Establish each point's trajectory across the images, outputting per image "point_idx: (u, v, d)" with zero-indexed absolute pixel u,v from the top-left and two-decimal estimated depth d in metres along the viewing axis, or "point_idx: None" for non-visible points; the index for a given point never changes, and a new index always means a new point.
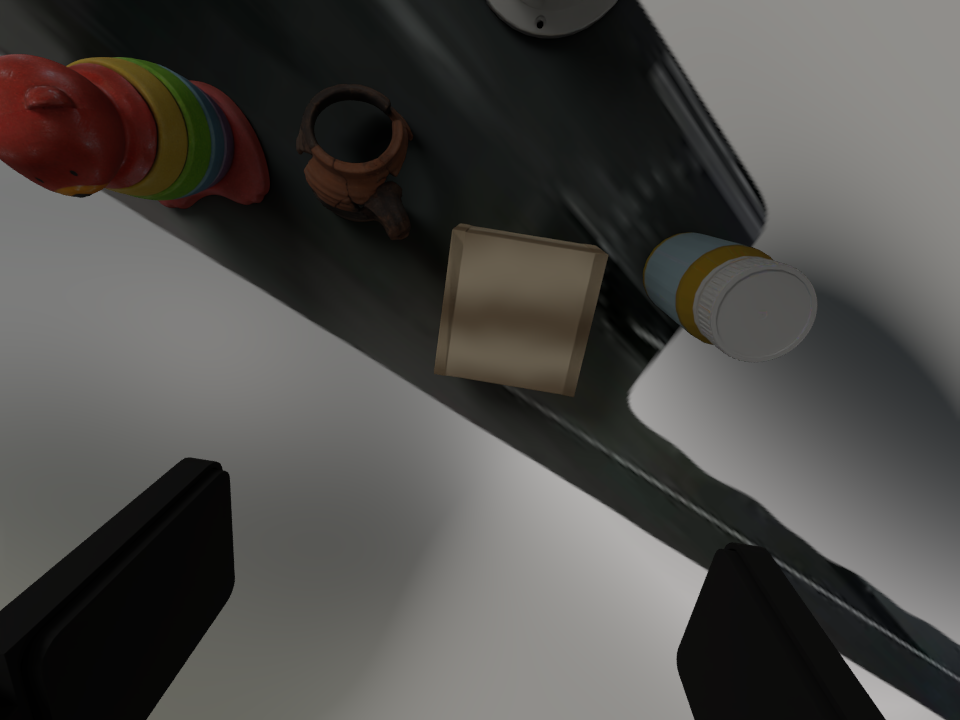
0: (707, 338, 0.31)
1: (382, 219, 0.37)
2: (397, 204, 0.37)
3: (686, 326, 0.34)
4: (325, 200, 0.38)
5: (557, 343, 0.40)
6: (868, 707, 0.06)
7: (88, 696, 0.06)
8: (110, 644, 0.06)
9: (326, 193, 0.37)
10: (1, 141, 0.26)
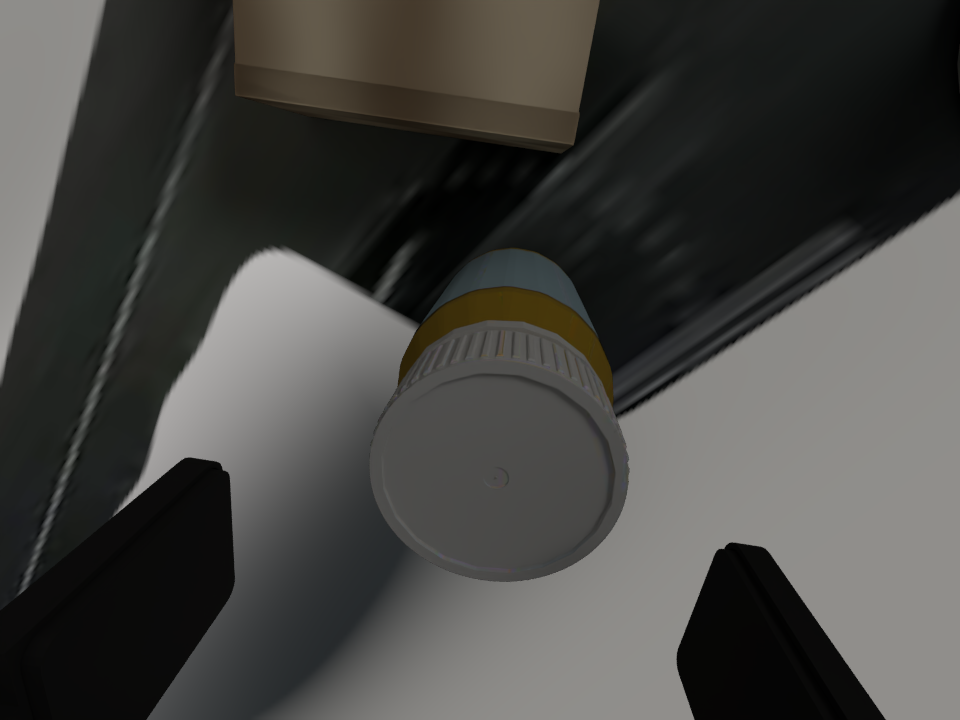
0: (418, 361, 0.12)
1: None
2: None
3: (436, 316, 0.15)
4: None
5: (361, 37, 0.16)
6: (868, 707, 0.06)
7: (88, 696, 0.06)
8: (110, 644, 0.06)
9: None
10: None
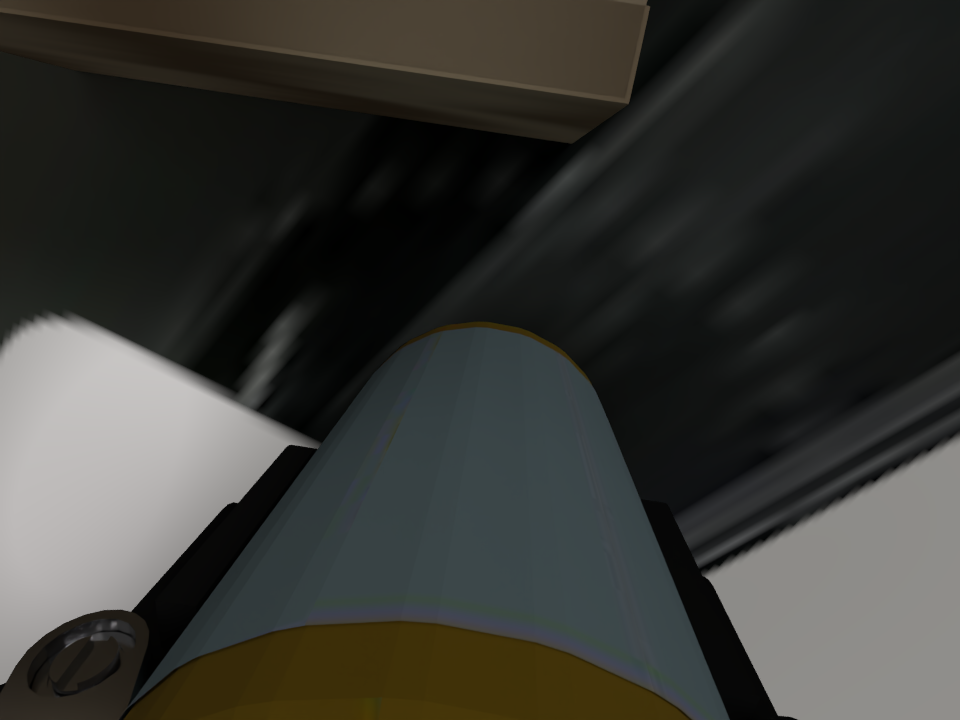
0: None
1: None
2: None
3: None
4: None
5: None
6: (718, 625, 0.07)
7: None
8: None
9: None
10: None
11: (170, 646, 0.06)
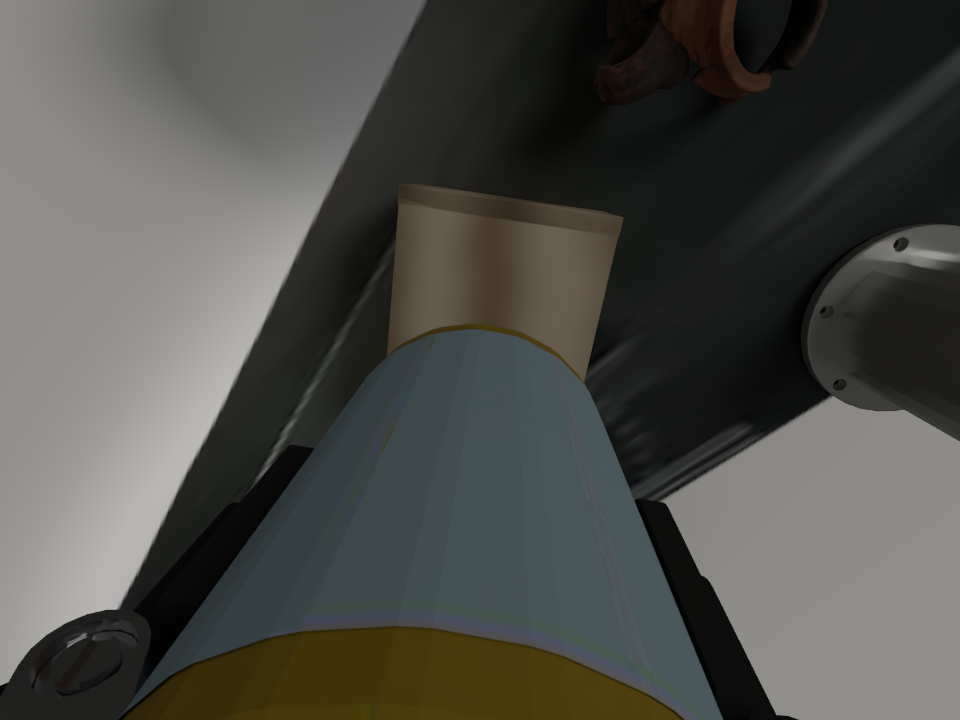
0: None
1: (637, 56, 0.23)
2: (655, 83, 0.24)
3: None
4: None
5: None
6: (716, 624, 0.07)
7: None
8: None
9: None
10: None
11: None
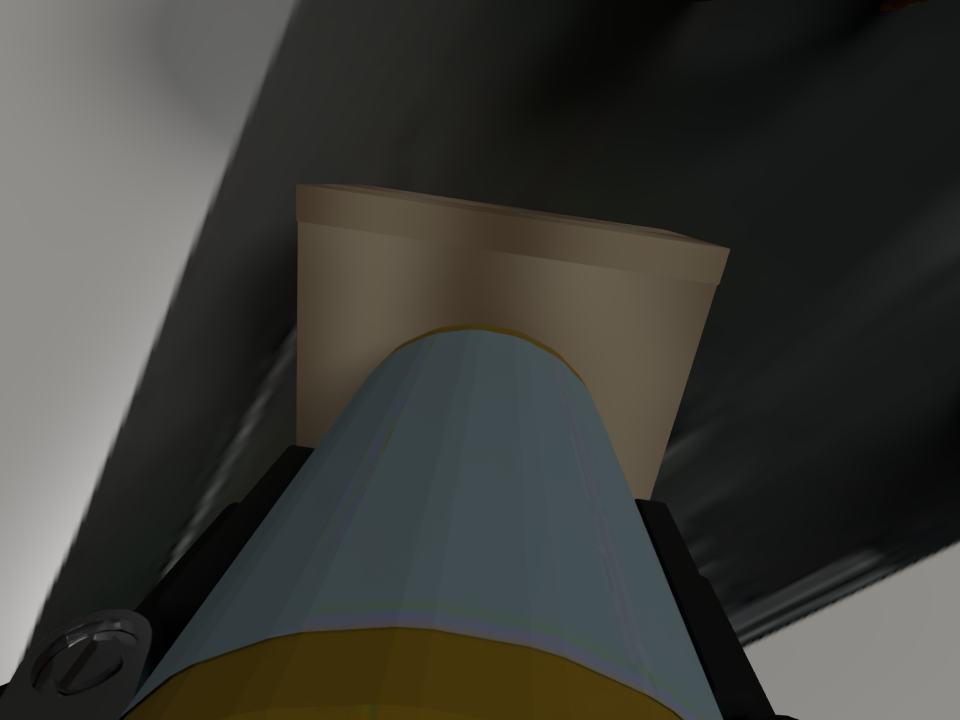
0: None
1: None
2: None
3: None
4: None
5: None
6: (716, 623, 0.07)
7: None
8: None
9: None
10: None
11: None
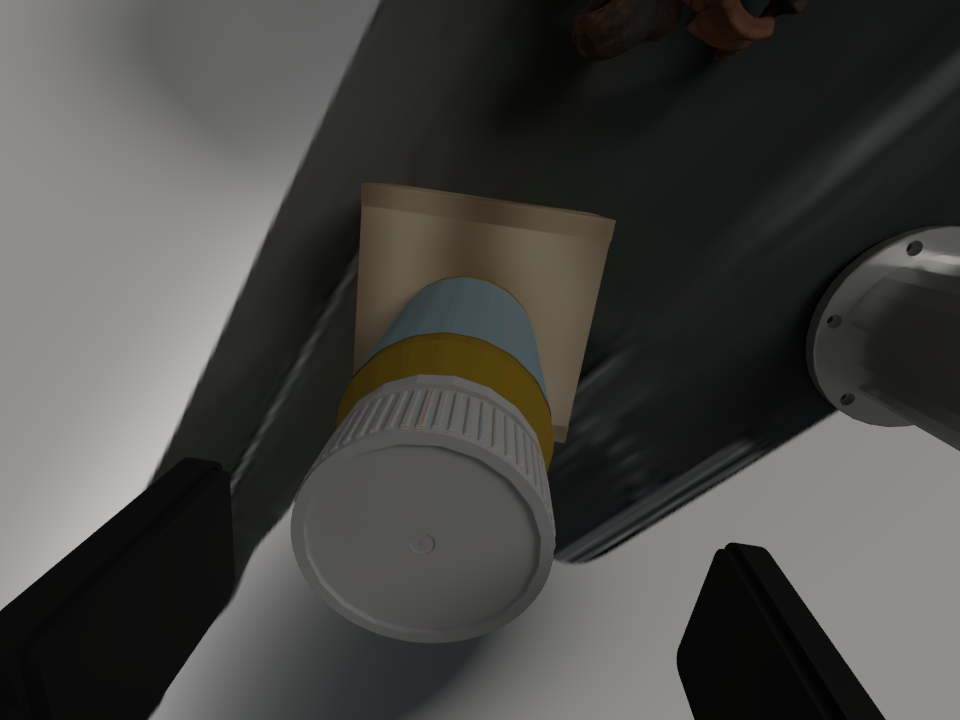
0: (344, 421, 0.12)
1: None
2: (643, 31, 0.21)
3: (371, 365, 0.14)
4: None
5: None
6: (868, 707, 0.06)
7: (88, 696, 0.06)
8: (110, 644, 0.06)
9: None
10: None
11: None
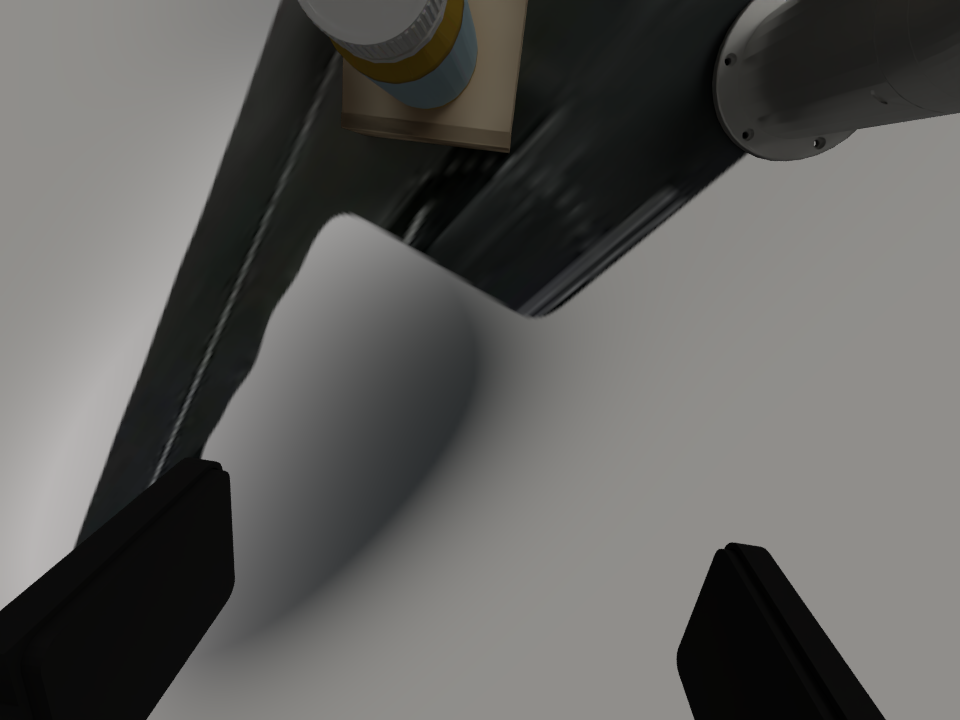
0: None
1: None
2: None
3: None
4: None
5: None
6: (868, 707, 0.06)
7: (88, 696, 0.06)
8: (110, 644, 0.06)
9: None
10: None
11: None
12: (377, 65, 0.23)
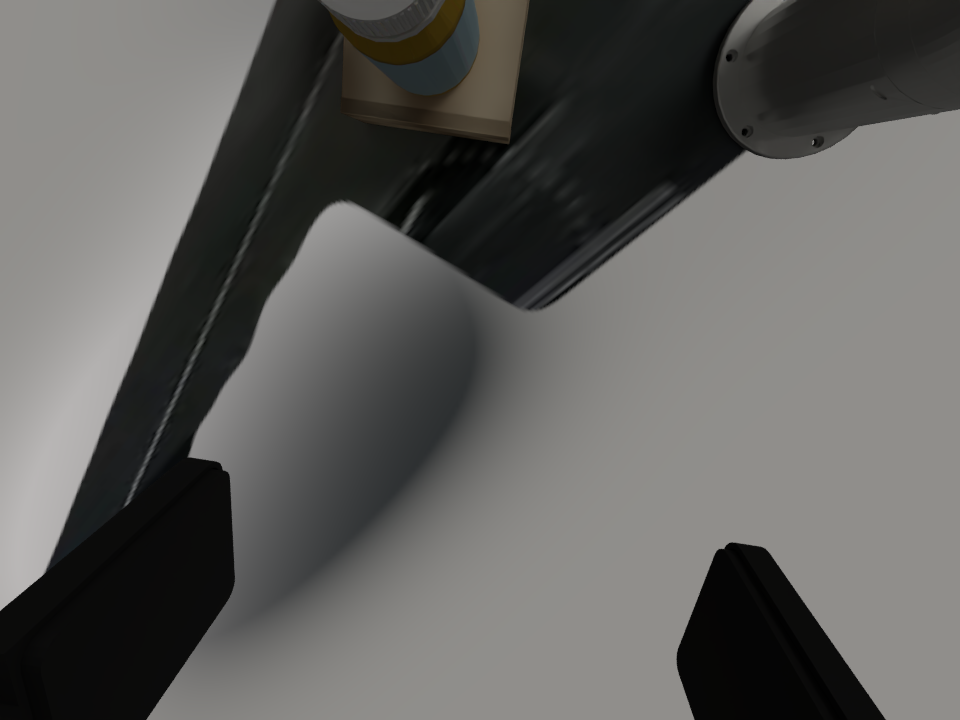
0: None
1: None
2: None
3: None
4: None
5: None
6: (868, 707, 0.06)
7: (88, 696, 0.06)
8: (110, 644, 0.06)
9: None
10: None
11: None
12: (379, 44, 0.23)
